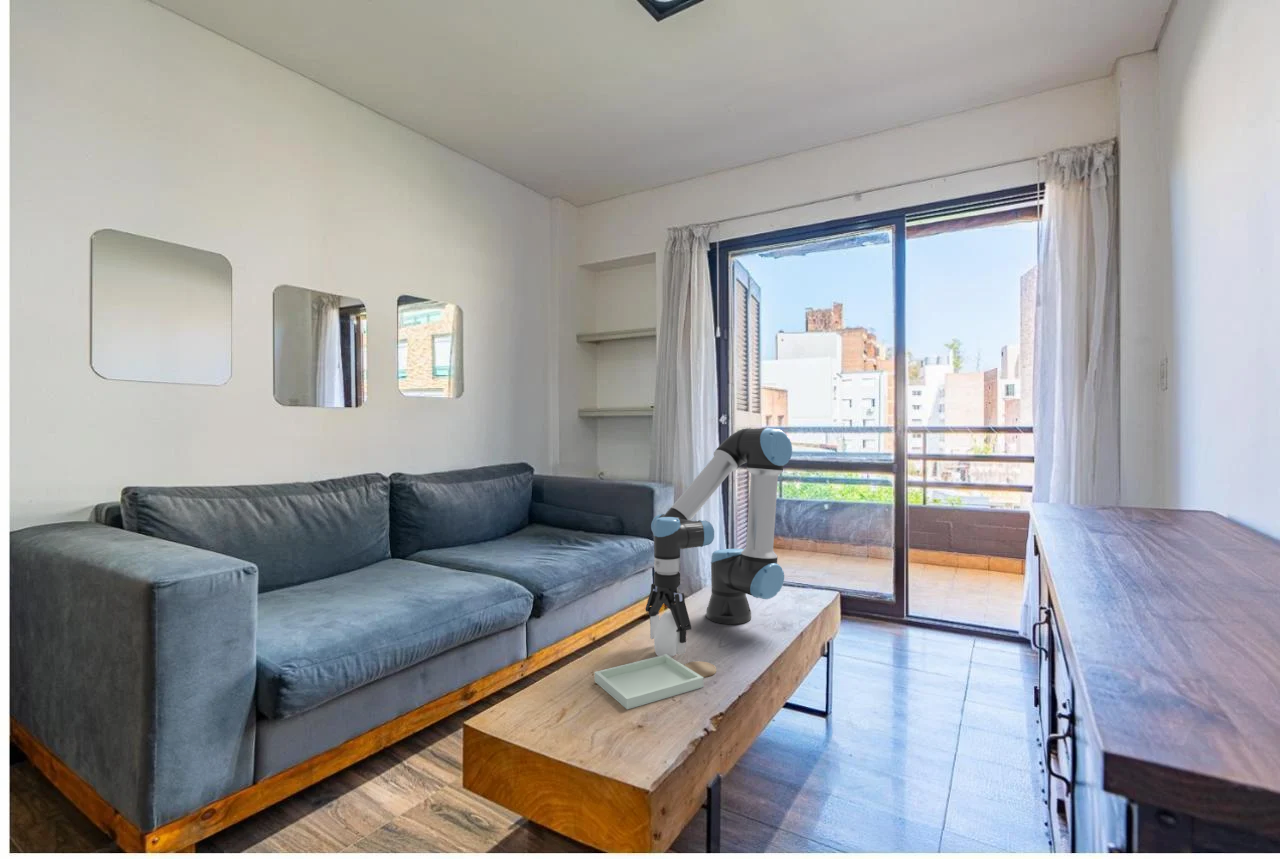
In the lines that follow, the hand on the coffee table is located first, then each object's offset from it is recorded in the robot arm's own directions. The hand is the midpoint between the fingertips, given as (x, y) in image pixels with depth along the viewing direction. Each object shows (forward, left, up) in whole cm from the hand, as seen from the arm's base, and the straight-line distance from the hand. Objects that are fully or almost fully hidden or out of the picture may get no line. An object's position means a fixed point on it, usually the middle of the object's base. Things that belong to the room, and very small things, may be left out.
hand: (667, 645), depth 164 cm
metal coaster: (-1, +14, -2) cm, 14 cm away
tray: (+15, +14, -2) cm, 21 cm away
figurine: (0, 0, -2) cm, 2 cm away
